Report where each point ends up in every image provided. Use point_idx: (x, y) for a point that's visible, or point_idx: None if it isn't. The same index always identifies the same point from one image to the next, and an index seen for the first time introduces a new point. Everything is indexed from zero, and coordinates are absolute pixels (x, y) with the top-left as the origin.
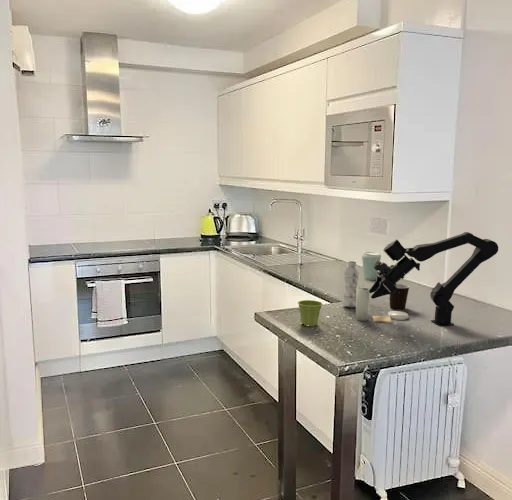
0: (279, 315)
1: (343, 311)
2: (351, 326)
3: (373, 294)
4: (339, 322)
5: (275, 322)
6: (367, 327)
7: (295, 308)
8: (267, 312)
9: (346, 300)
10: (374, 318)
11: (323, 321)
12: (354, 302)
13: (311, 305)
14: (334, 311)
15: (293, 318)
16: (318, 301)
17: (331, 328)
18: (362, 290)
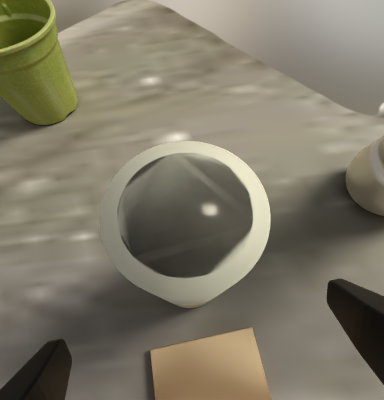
0: (136, 31)
1: (281, 178)
2: (49, 242)
3: (5, 390)
4: (102, 187)
5: (62, 36)
6: (41, 323)
7: (232, 46)
8: (156, 8)
9: (361, 158)
10: (197, 350)
11: (102, 135)
12: (378, 200)
13: (55, 41)
14: (260, 147)
15: (115, 61)
16: (32, 37)
17: (11, 172)
18: (101, 210)
